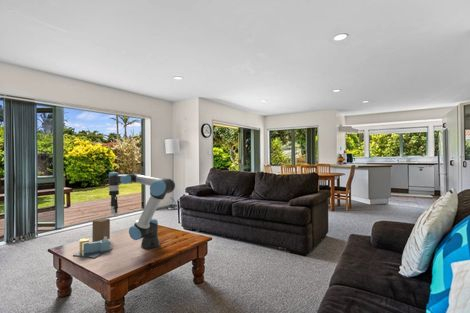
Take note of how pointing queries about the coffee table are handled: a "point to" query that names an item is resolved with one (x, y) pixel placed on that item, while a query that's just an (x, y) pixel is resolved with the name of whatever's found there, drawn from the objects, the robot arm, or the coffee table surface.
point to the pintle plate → (91, 254)
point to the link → (96, 246)
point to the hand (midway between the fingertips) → (114, 215)
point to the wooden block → (100, 229)
